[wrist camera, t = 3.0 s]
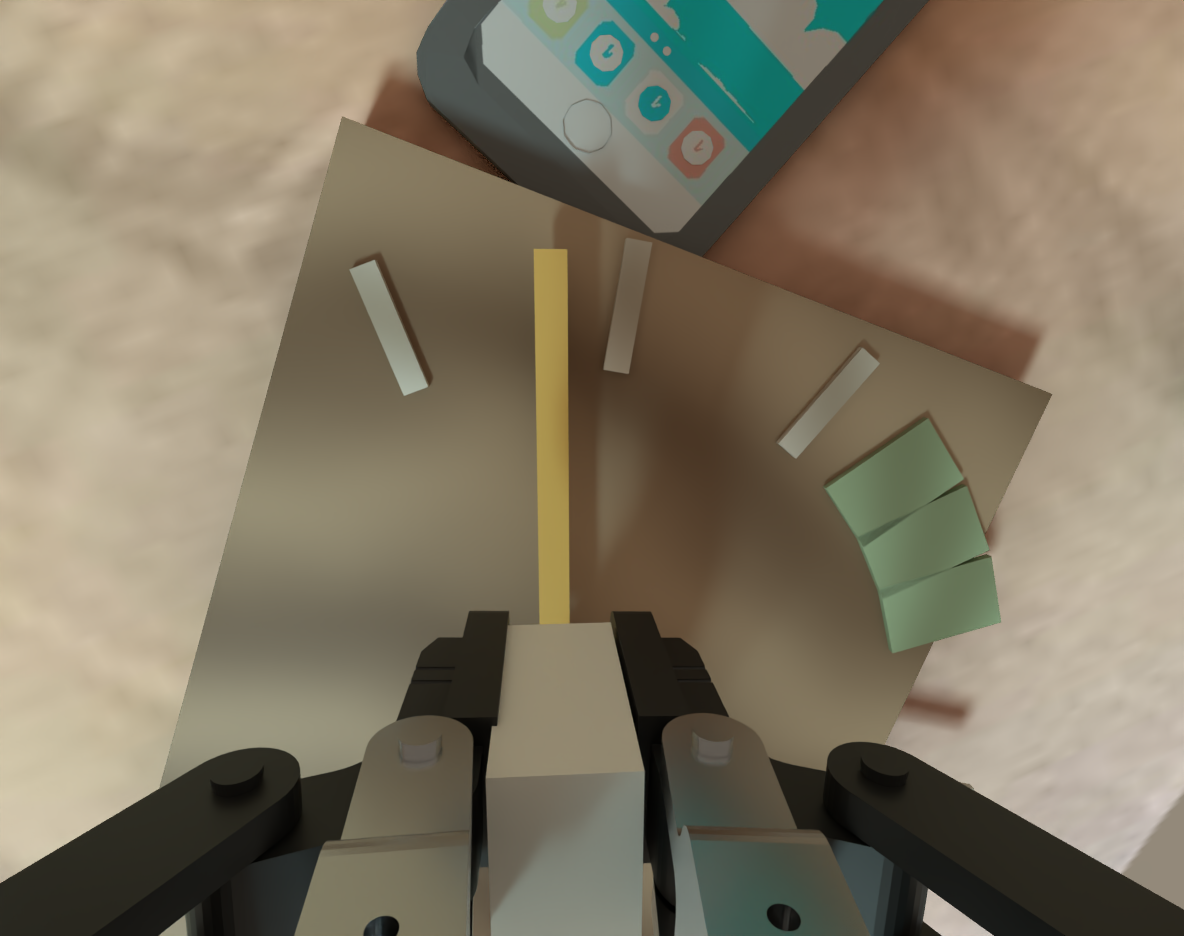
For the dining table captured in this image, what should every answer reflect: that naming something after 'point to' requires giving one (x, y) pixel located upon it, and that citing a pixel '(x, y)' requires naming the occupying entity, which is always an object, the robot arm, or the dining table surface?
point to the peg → (562, 713)
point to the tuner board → (586, 475)
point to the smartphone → (649, 96)
